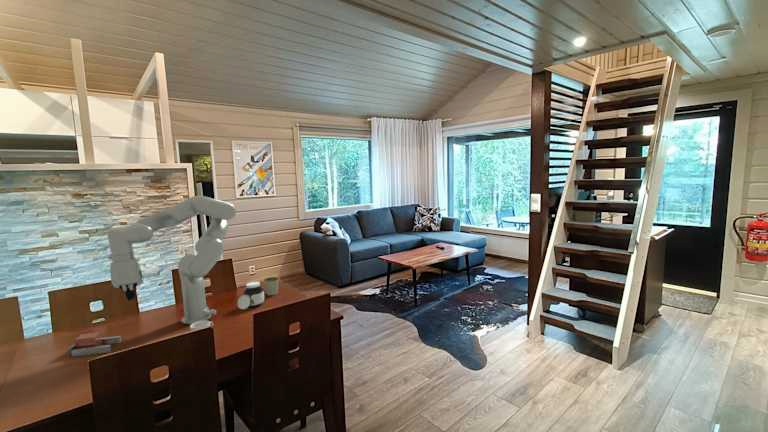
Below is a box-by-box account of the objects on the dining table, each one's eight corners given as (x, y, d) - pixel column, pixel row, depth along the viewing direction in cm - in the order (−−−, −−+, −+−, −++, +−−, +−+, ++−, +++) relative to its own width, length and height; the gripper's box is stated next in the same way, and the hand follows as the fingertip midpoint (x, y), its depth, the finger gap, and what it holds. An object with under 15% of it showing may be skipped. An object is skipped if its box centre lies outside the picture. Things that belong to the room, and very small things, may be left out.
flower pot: (260, 296, 202) (259, 281, 201) (268, 290, 212) (267, 276, 210) (275, 296, 201) (274, 282, 200) (283, 291, 210) (282, 277, 209)
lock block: (103, 345, 148) (101, 332, 148) (96, 351, 143) (94, 337, 143) (83, 348, 147) (81, 334, 146) (76, 354, 142) (74, 339, 141)
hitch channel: (121, 341, 151) (120, 333, 151) (109, 352, 142) (108, 343, 142) (83, 346, 148) (81, 338, 148) (68, 357, 139) (67, 348, 139)
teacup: (199, 341, 149) (197, 329, 148) (187, 338, 152) (185, 326, 152) (219, 331, 158) (218, 320, 157) (207, 329, 161) (206, 317, 161)
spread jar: (266, 301, 194) (264, 280, 192) (259, 309, 182) (258, 287, 181) (243, 302, 193) (242, 281, 192) (236, 310, 182) (234, 288, 180)
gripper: (98, 262, 144) (107, 305, 147) (139, 257, 147) (147, 299, 150) (107, 257, 151) (115, 298, 154) (147, 252, 154) (154, 293, 158)
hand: (131, 298), depth 152 cm, fingers closed
